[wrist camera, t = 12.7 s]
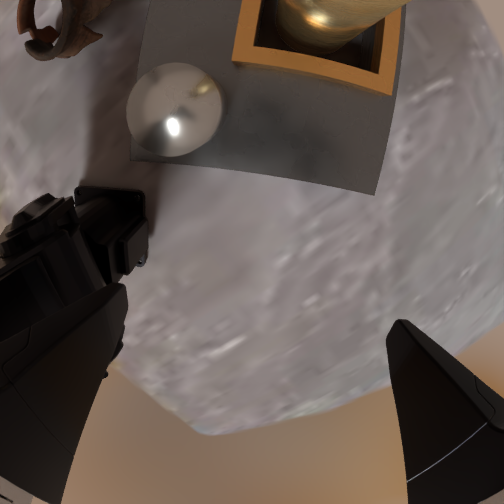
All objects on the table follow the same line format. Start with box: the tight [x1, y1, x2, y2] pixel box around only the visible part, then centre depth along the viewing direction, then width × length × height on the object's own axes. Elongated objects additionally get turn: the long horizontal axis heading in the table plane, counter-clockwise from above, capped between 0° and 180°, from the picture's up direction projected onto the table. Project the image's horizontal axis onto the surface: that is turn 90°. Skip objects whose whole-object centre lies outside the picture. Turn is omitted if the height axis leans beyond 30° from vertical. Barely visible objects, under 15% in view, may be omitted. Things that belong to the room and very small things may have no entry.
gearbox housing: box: [126, 0, 406, 196], centre depth 13 cm, size 16×16×6 cm
